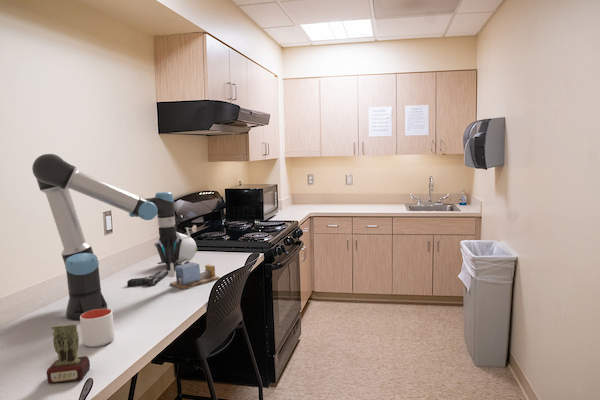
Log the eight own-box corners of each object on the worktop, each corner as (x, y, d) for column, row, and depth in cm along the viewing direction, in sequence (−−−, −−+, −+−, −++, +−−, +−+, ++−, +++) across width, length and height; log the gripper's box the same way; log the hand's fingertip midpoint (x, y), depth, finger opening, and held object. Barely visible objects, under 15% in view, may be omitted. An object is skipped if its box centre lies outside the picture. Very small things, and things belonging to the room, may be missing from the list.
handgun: (143, 270, 242) (170, 268, 241) (144, 276, 242) (170, 275, 241) (126, 281, 222) (154, 279, 221) (127, 288, 223) (155, 286, 221)
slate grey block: (183, 285, 217) (182, 268, 216) (176, 282, 221) (175, 266, 220) (200, 280, 223) (199, 264, 222) (193, 278, 227) (191, 262, 226)
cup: (78, 343, 158) (75, 314, 157) (107, 333, 165) (105, 306, 164) (89, 351, 151) (86, 321, 150) (120, 341, 158) (117, 312, 157)
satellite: (208, 229, 268) (173, 232, 278) (187, 222, 251) (150, 225, 260) (205, 269, 262) (168, 270, 272) (183, 264, 245) (145, 265, 254)
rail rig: (183, 289, 213) (182, 276, 213) (169, 285, 222) (168, 272, 221) (219, 279, 227) (218, 266, 227) (205, 275, 236) (204, 263, 235)
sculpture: (46, 386, 130) (39, 334, 128) (56, 372, 138) (50, 323, 136) (83, 381, 131) (77, 330, 130) (91, 368, 139) (86, 319, 137)
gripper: (158, 229, 205) (163, 281, 208) (184, 224, 214) (188, 274, 217) (149, 227, 210) (154, 278, 213) (175, 223, 220) (179, 272, 222)
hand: (171, 276), depth 215 cm, fingers closed
